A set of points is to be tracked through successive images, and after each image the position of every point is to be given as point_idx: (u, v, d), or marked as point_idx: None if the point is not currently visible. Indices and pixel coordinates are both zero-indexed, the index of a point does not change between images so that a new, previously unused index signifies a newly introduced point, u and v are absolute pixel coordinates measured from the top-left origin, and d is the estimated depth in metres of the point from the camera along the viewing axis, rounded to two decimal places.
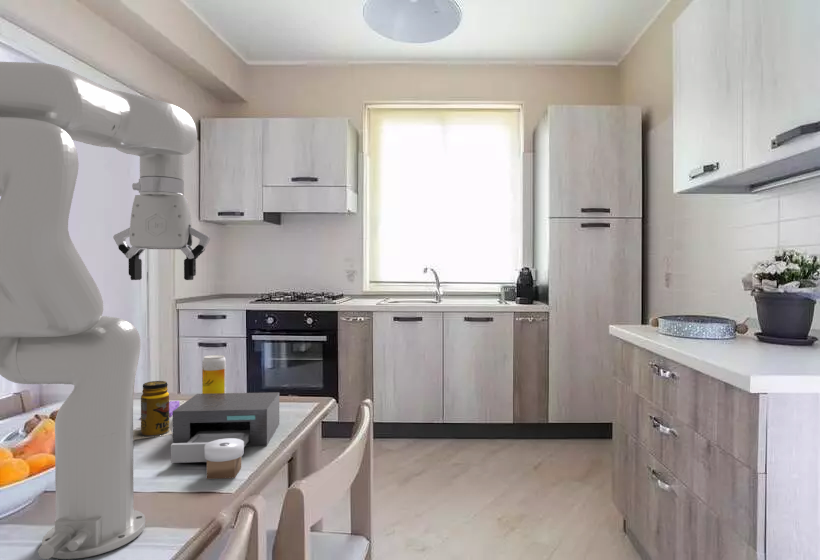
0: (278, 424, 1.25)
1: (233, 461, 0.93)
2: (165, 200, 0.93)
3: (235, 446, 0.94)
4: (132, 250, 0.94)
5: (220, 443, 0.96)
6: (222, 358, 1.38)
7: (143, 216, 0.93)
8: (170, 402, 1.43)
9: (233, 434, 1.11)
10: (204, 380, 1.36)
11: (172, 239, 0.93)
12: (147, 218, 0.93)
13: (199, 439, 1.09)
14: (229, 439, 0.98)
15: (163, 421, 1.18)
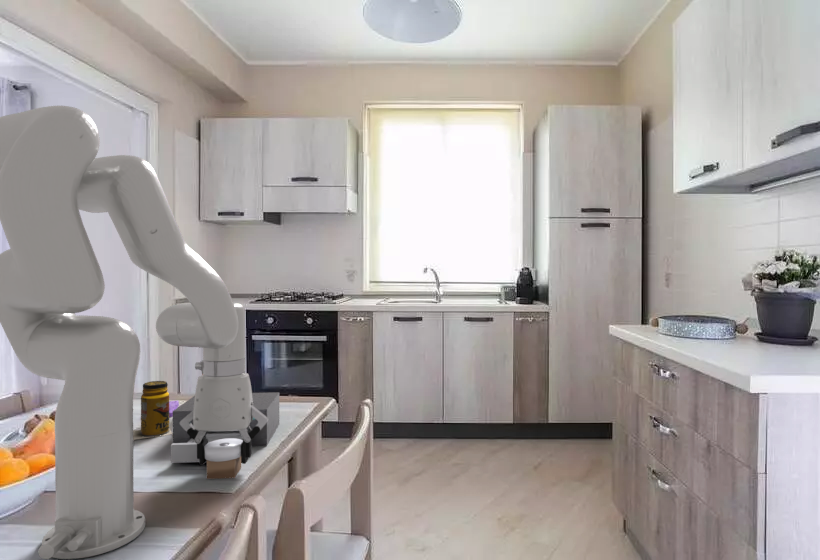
0: (278, 424, 1.25)
1: (233, 461, 0.93)
2: (229, 383, 0.93)
3: (235, 446, 0.94)
4: (201, 435, 0.94)
5: (220, 443, 0.96)
6: None
7: (207, 400, 0.92)
8: (169, 402, 1.43)
9: (233, 434, 1.11)
10: None
11: (236, 422, 0.93)
12: (211, 402, 0.93)
13: None
14: (229, 439, 0.98)
15: (163, 421, 1.18)
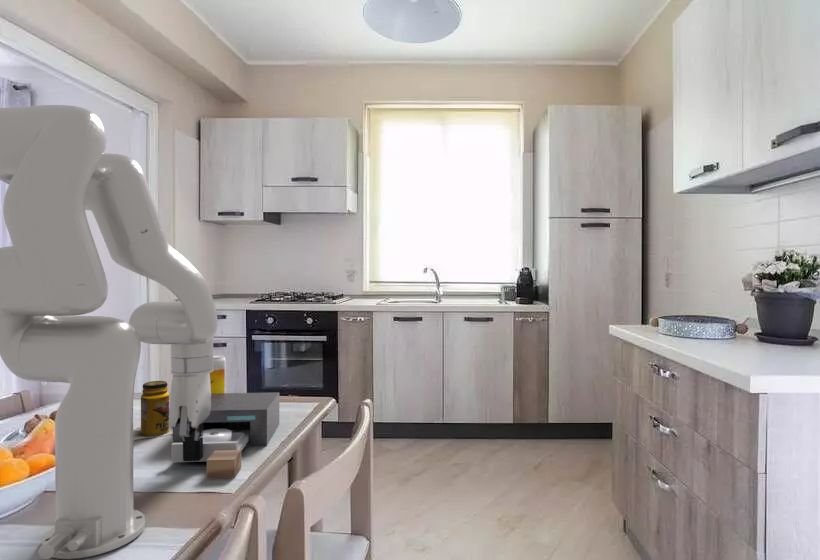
0: (278, 424, 1.25)
1: (233, 461, 0.93)
2: None
3: (223, 435, 1.05)
4: None
5: (210, 432, 1.07)
6: (222, 358, 1.38)
7: None
8: None
9: (233, 434, 1.11)
10: None
11: None
12: None
13: None
14: (218, 429, 1.09)
15: (163, 421, 1.18)
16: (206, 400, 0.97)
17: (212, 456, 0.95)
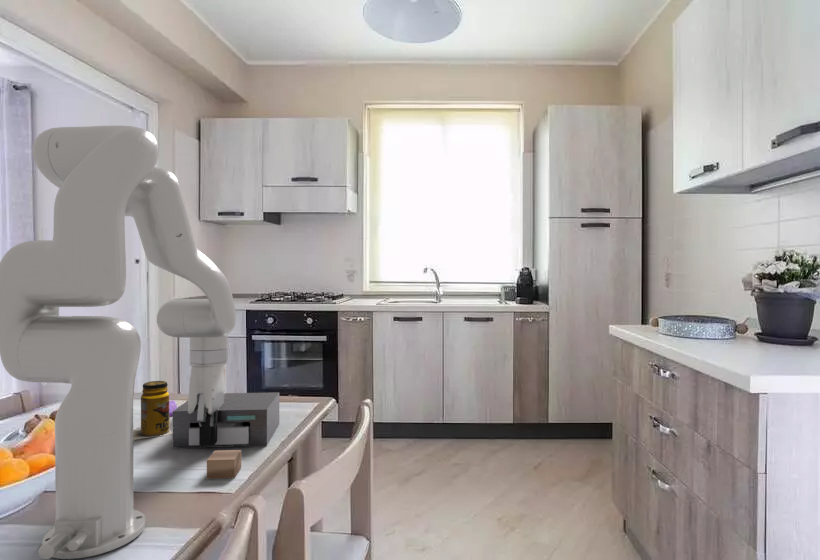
0: (278, 424, 1.25)
1: (233, 461, 0.93)
2: None
3: None
4: None
5: None
6: None
7: None
8: None
9: None
10: None
11: None
12: None
13: None
14: None
15: (163, 421, 1.18)
16: (221, 390, 1.07)
17: (212, 456, 0.95)
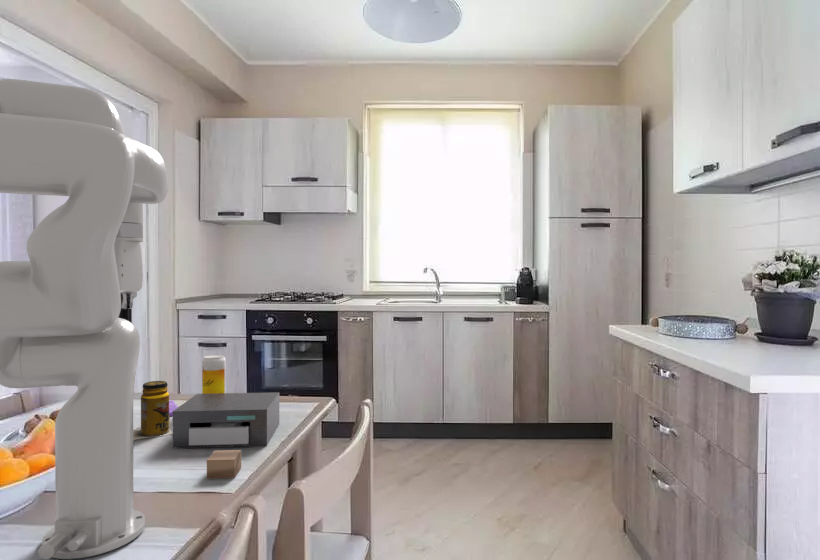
0: (278, 424, 1.25)
1: (233, 461, 0.93)
2: None
3: None
4: None
5: None
6: (222, 358, 1.38)
7: None
8: None
9: None
10: (204, 380, 1.36)
11: None
12: None
13: None
14: None
15: (163, 421, 1.18)
16: (135, 270, 0.97)
17: (212, 456, 0.95)
